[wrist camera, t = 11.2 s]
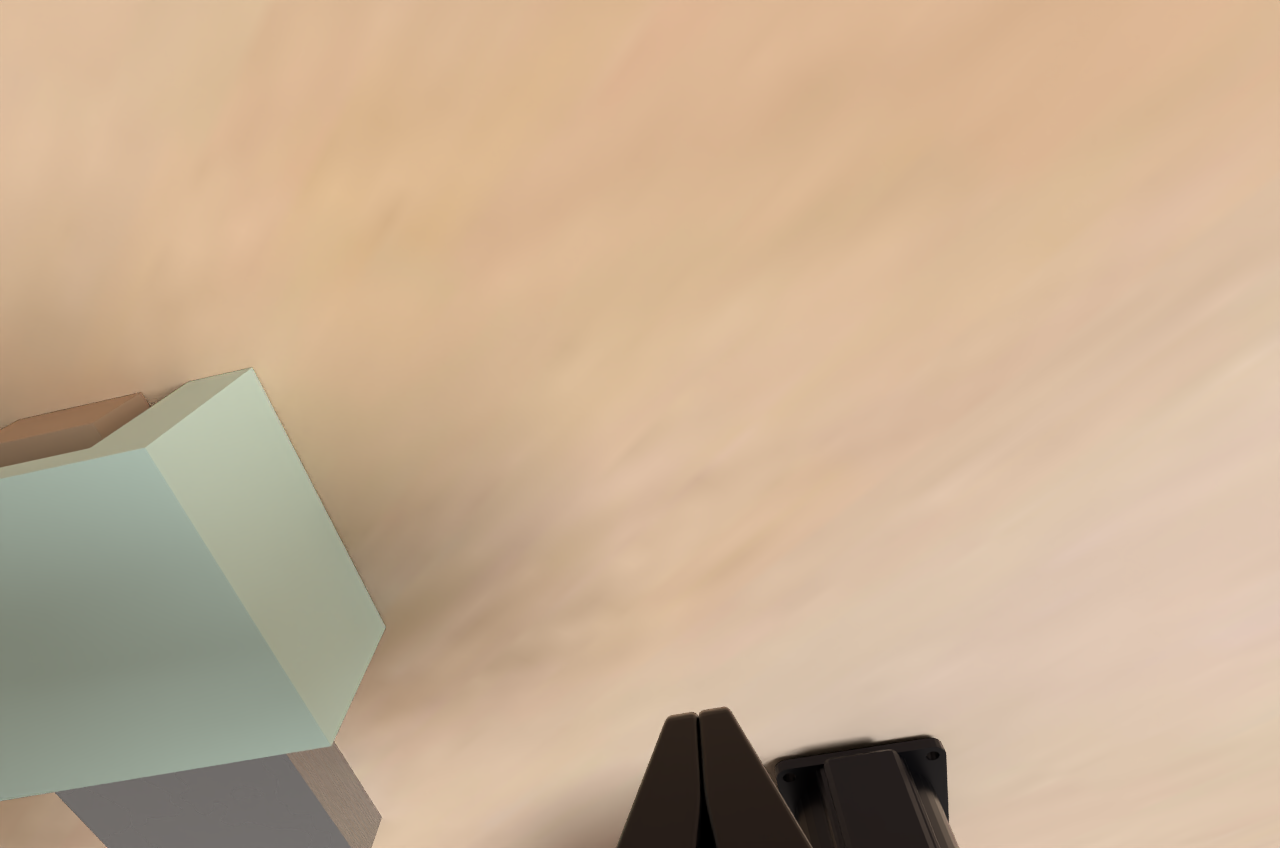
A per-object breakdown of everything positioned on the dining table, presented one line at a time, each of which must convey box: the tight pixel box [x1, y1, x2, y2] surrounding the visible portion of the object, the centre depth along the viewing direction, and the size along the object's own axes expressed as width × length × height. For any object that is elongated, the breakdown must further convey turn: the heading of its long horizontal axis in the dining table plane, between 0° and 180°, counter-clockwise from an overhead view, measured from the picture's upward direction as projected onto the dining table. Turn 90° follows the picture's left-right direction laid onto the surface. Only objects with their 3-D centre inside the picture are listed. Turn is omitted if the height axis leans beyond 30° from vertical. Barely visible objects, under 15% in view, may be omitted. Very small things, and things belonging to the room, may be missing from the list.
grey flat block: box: [55, 742, 382, 848], centre depth 24 cm, size 18×9×2 cm, turn 13°
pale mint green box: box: [0, 368, 386, 801], centre depth 21 cm, size 10×17×5 cm, turn 103°
